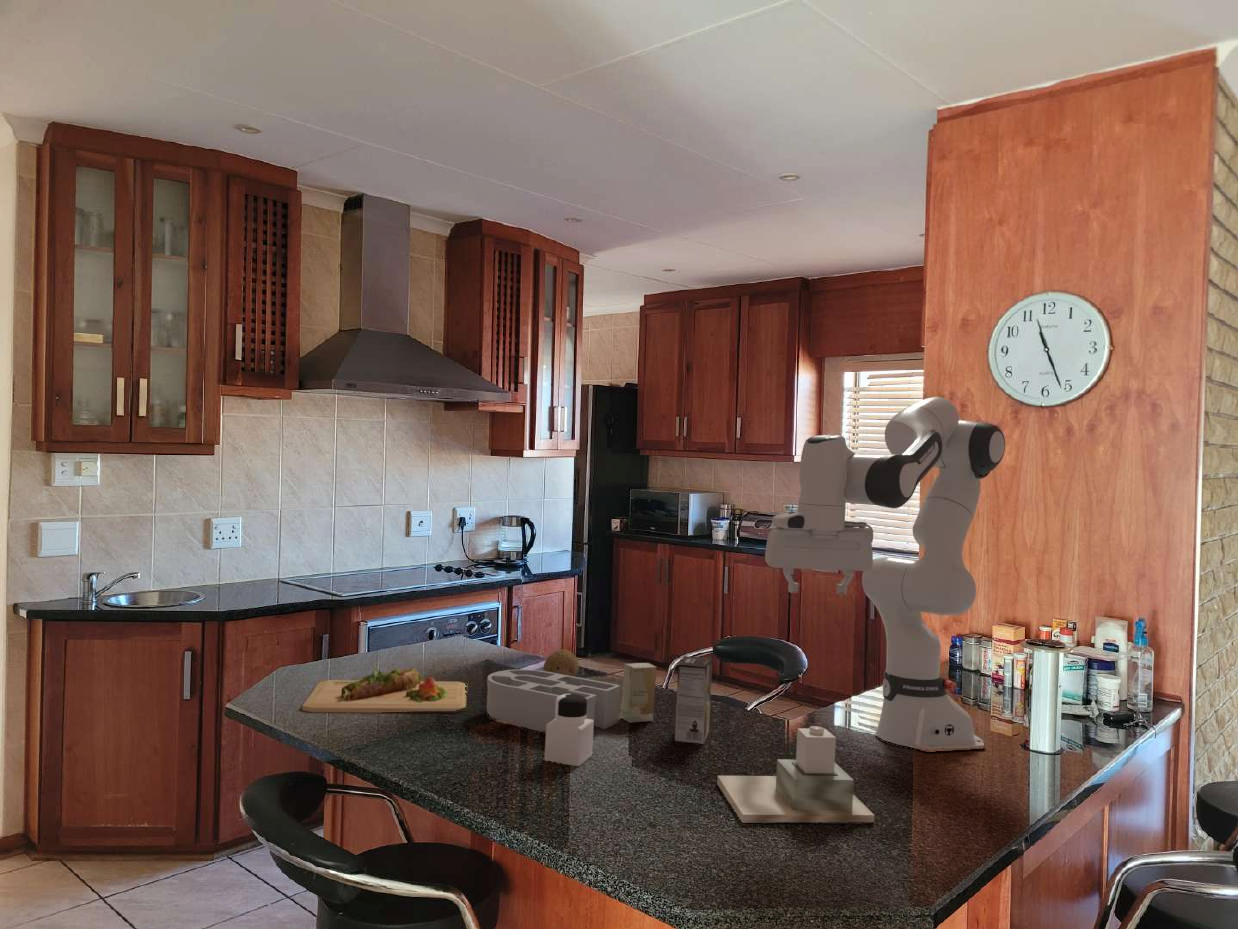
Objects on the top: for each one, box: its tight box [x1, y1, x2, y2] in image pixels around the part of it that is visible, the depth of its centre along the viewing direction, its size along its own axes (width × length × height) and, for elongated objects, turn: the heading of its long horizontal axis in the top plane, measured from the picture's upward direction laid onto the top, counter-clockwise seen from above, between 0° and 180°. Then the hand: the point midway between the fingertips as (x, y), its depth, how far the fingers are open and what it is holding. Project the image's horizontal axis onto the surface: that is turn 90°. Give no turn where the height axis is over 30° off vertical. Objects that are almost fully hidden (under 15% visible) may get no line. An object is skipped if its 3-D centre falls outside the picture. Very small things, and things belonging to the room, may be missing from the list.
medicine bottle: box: [544, 694, 595, 767], centre depth 172 cm, size 7×7×12 cm
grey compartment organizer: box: [486, 668, 622, 732], centre depth 197 cm, size 17×28×9 cm, turn 61°
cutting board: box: [301, 667, 468, 714], centre depth 209 cm, size 35×23×8 cm
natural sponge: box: [542, 649, 580, 677], centre depth 224 cm, size 9×9×10 cm
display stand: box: [716, 758, 875, 824], centre depth 155 cm, size 22×18×7 cm
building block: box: [795, 725, 837, 773], centre depth 153 cm, size 5×5×7 cm
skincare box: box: [620, 662, 657, 724], centre depth 201 cm, size 6×4×12 cm
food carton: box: [674, 655, 713, 745], centre depth 191 cm, size 9×6×16 cm
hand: (817, 593), depth 171 cm, fingers open, 8 cm apart
